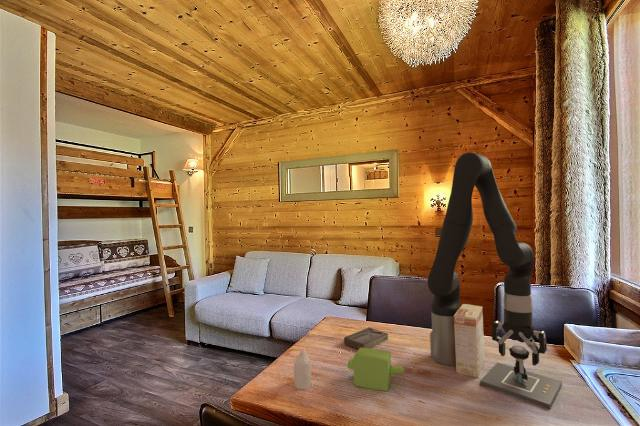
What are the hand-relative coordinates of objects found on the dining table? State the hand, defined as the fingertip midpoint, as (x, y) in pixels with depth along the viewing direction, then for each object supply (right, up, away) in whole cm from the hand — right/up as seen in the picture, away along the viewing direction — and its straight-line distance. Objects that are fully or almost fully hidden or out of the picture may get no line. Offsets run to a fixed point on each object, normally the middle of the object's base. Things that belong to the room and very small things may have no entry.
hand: (518, 359), depth 98 cm
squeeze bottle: (-67, -11, +5) cm, 68 cm away
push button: (+1, -7, 0) cm, 7 cm away
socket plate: (+1, -8, 0) cm, 8 cm away
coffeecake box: (-9, -8, +13) cm, 17 cm away
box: (-42, -10, +36) cm, 56 cm away
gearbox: (-43, -10, +5) cm, 45 cm away
